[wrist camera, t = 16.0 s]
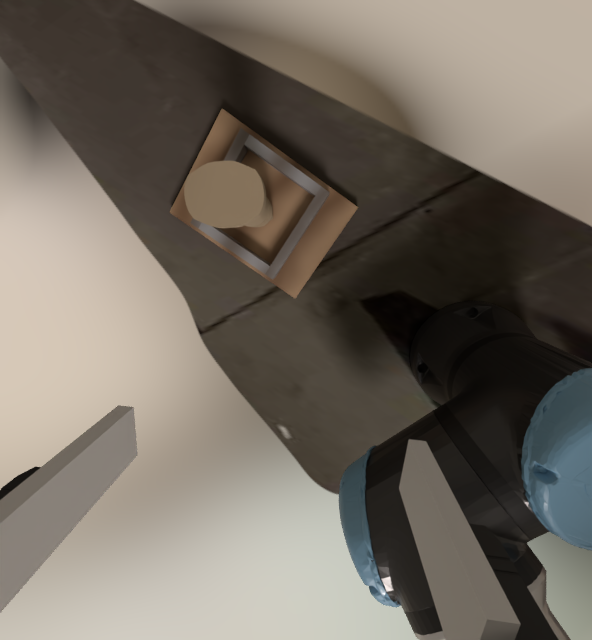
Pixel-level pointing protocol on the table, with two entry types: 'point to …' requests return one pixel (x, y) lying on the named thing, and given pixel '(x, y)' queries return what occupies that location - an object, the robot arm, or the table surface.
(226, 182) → the handle
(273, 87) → the table surface
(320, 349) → the table surface
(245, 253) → the collar board
